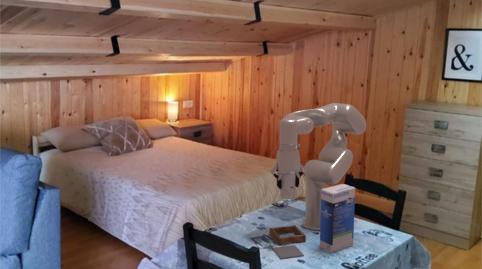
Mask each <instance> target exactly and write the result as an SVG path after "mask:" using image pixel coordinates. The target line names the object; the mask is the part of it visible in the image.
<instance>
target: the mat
mask: <svg viewBox="0 0 482 269" xmlns="http://www.w3.org/2000/svg"><path fill="white" fill-rule="evenodd" d="M272 250H273V252H274V253H275V254H276V256H277V257H278V258H279V259H280V260H285V259H294V258H301V257H304V256H305V255H304V253H303V252H302V251H301V250H300V249H299V248H298V247H297V246H296V245H295V244H290V245H282V246H277V247H272Z"/></svg>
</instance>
